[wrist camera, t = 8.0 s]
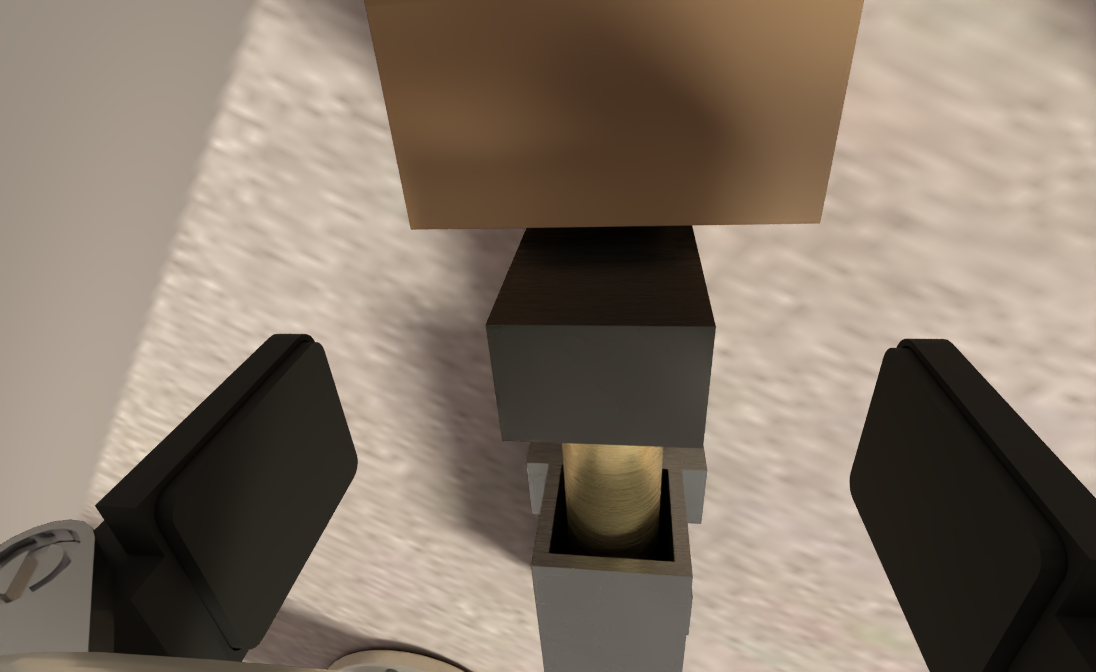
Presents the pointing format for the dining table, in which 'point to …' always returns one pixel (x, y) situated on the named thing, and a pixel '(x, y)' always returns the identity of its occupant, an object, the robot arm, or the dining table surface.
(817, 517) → the dining table surface
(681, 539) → the metal sleeve
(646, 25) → the walnut socket
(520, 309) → the brass rod
